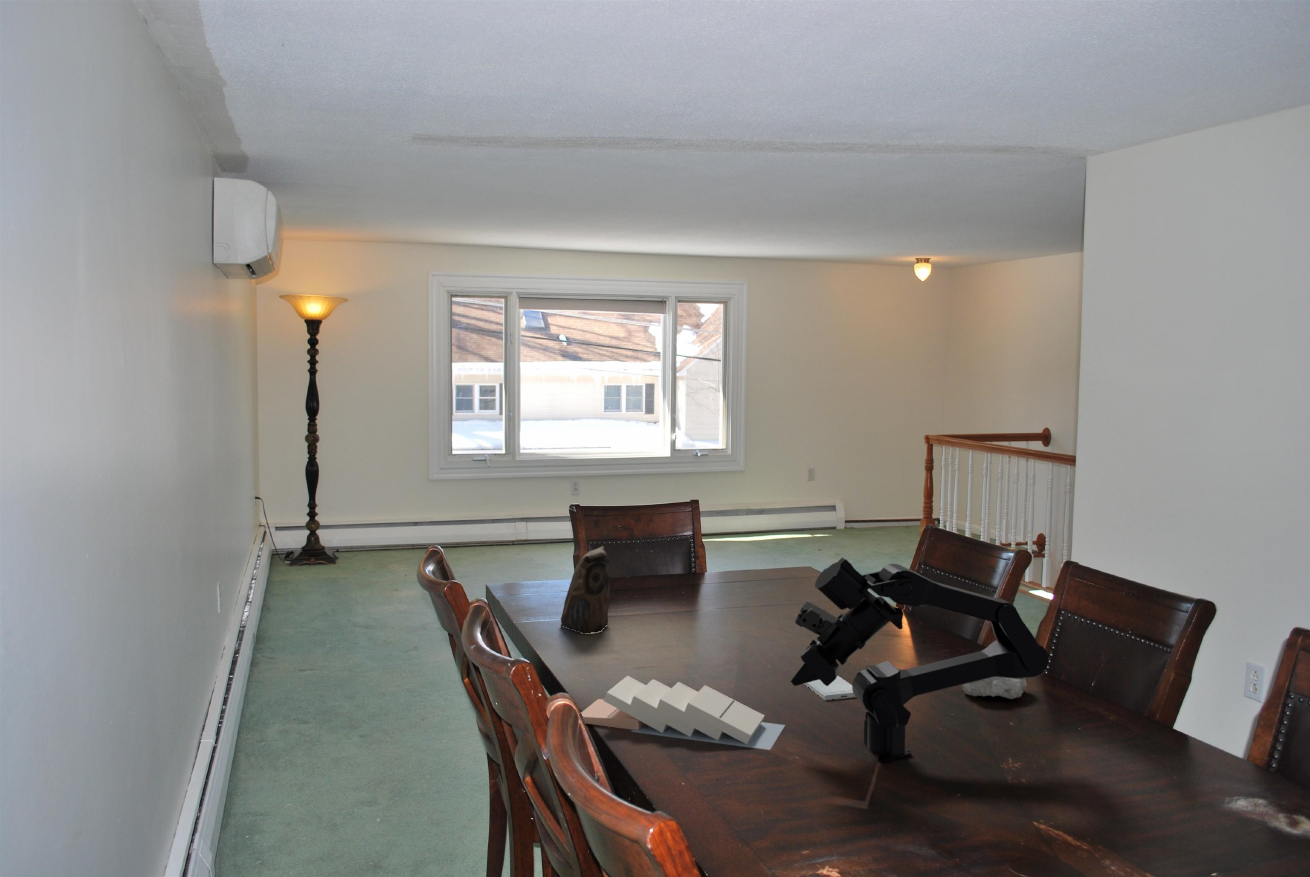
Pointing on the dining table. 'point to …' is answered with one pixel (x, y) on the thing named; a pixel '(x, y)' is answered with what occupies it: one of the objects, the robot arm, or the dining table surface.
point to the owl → (588, 594)
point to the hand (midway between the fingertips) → (792, 683)
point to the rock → (996, 687)
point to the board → (725, 736)
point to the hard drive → (832, 689)
